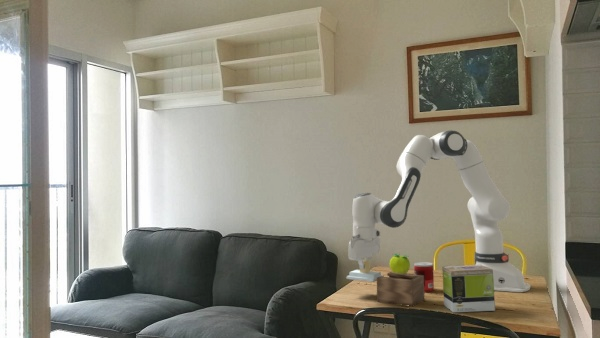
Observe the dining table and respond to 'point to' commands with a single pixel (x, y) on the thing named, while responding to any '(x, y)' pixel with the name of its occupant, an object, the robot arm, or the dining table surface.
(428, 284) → the canned food
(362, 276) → the lid
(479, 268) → the tea box
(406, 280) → the box
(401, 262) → the fruit
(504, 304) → the dining table surface
